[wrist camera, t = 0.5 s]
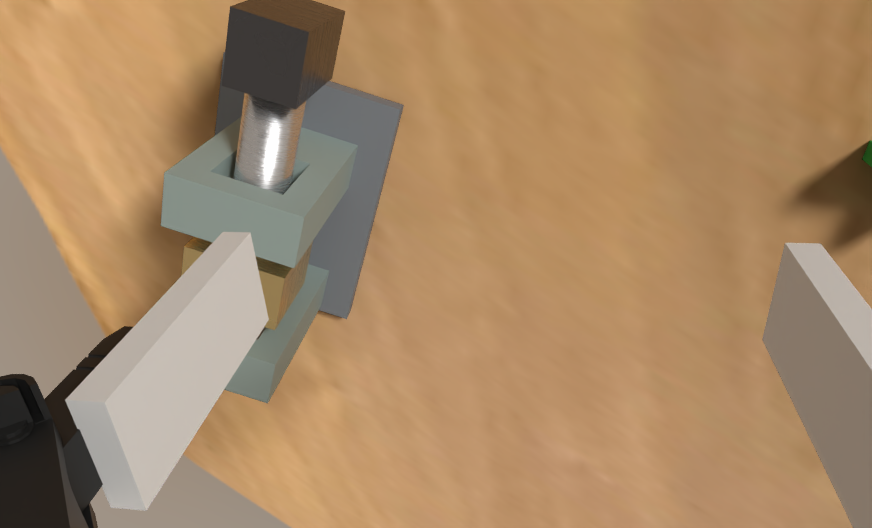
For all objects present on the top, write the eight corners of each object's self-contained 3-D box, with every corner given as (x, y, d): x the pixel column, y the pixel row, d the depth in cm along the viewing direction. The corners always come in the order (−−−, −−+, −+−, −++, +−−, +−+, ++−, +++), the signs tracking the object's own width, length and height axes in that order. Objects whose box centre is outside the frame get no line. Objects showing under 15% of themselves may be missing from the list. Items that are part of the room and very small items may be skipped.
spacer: (304, 283, 41) (275, 330, 37) (219, 255, 41) (179, 299, 37) (314, 234, 39) (284, 278, 35) (225, 206, 39) (184, 246, 35)
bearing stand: (350, 311, 48) (299, 419, 38) (206, 265, 48) (117, 362, 38) (403, 105, 40) (357, 174, 30) (230, 49, 40) (126, 100, 30)
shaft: (281, 332, 45) (247, 389, 40) (231, 316, 45) (190, 371, 40) (345, 11, 34) (309, 32, 29) (278, -11, 34) (230, 6, 29)
